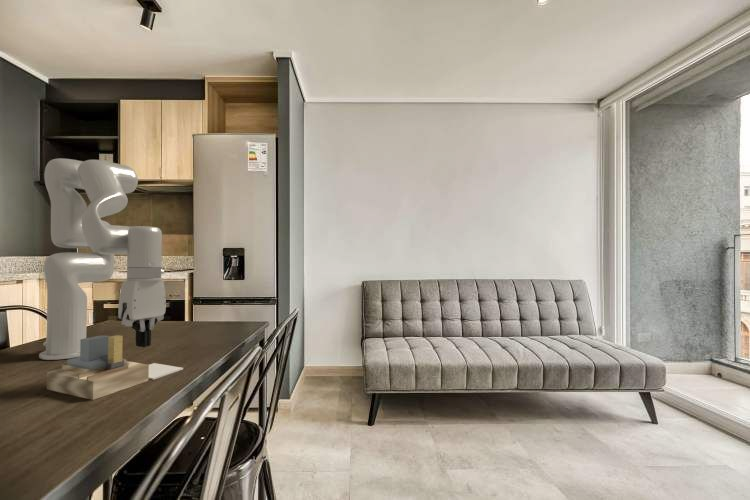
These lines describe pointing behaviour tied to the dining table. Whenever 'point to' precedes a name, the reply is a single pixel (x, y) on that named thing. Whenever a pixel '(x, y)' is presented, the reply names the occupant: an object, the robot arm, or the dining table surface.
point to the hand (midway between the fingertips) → (143, 345)
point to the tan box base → (96, 379)
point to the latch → (114, 353)
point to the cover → (91, 353)
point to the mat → (161, 370)
